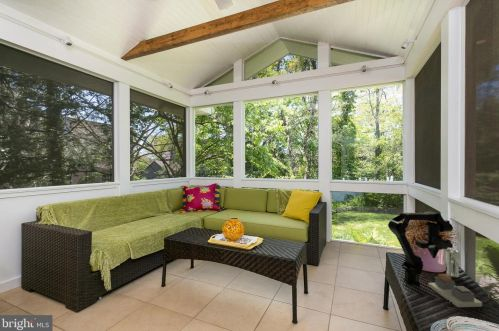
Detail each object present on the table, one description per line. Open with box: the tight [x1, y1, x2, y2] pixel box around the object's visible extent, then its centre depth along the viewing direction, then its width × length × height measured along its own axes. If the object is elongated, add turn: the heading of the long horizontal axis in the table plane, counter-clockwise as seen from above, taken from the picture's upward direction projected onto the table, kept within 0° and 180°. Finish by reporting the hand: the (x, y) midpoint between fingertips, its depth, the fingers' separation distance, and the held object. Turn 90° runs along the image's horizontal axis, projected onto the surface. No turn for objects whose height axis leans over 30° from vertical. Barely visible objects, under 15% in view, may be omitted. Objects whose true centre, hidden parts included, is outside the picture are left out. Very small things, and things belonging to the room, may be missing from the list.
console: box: [427, 276, 483, 308], centre depth 125 cm, size 12×19×6 cm, turn 0°
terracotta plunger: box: [437, 273, 452, 282], centre depth 130 cm, size 4×4×5 cm
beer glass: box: [445, 248, 461, 278], centre depth 146 cm, size 7×7×15 cm
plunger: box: [455, 285, 471, 293], centre depth 120 cm, size 4×4×5 cm
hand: (433, 258), depth 142 cm, fingers closed
